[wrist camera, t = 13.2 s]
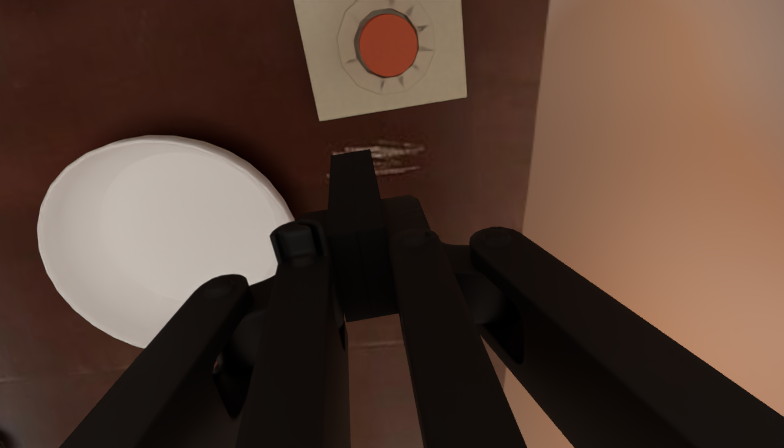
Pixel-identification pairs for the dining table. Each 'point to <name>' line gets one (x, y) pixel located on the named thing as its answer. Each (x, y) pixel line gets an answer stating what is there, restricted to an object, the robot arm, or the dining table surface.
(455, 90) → the button block
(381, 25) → the button
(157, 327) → the bowl
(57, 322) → the dining table surface
